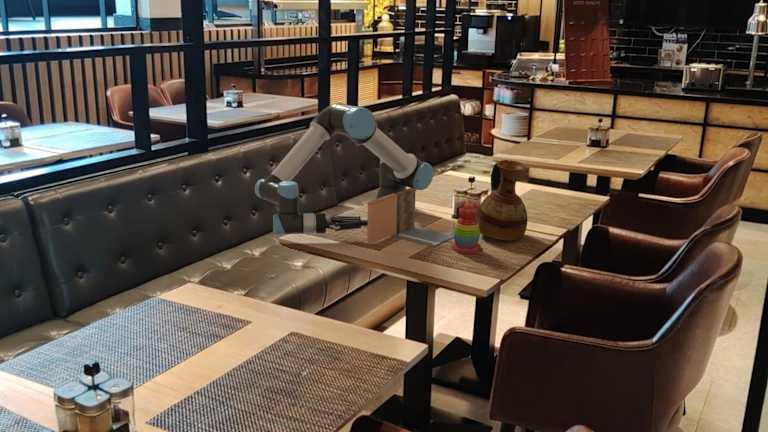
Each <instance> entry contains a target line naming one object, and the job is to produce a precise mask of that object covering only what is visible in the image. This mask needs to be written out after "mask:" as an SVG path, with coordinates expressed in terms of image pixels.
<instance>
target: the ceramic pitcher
mask: <svg viewBox="0 0 768 432" xmlns="http://www.w3.org/2000/svg"><path fill="white" fill-rule="evenodd" d="M525 168H526V165H525V164H523V163H522V162H520V161H518V160H511V159H510V160H508V159H502V160H498V161H497V162H495V164H494V165H493V167H492V170H491V174H490V187H491V188H490V193H489V194H488V195H487V196H486V197H485V198H484V199H483V200H482V202H481V203H480V205H479V206H478V208H477V216H476V217H475V218H476V219H477V221H478V223H479V229H480V235H482V236H485V237H488V238H491V239H495V240H500V241H515V240H516V241H517V240H519V239H520V238H522V237H524V235H525V233H526V231H527V228H528V212H527V208H526V205H525V203H524V202H523V200H522V198H521V197H520V196H519V195H518V194H517V192H516V185H517V180H518V177H519V175H520V173H521V172H522V171H523V170H525Z"/></svg>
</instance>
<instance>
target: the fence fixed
mask: <svg viewBox="0 0 768 432" xmlns="http://www.w3.org/2000/svg"><path fill="white" fill-rule="evenodd" d="M416 191H417V190H416V188H410V187H409V188H406V190H404V191H401V192H397V194H398V196H397V229H396V234H399V233H402V232H404V231H407V230H409V229H412V228H414V227H416V226H415V225H416V224H415V221H416V220H415V219H416V193H417V192H416Z"/></svg>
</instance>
